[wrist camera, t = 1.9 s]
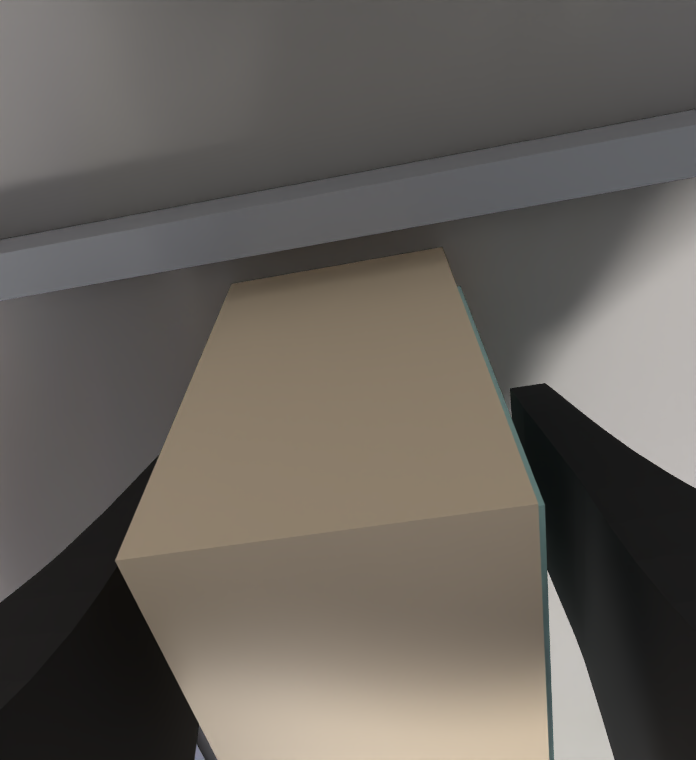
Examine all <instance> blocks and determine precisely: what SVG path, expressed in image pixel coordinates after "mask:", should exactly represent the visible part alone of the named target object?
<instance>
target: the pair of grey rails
mask: <svg viewBox="0 0 696 760" xmlns="http://www.w3.org/2000/svg"><path fill="white" fill-rule="evenodd" d="M693 177H696V109H695V110H689V111H684V112H679V113H674V114H668V115H663V116H658V117H652V118H647V119H642V120H636V121H631V122H626V123H620V124H615V125H610V126H604V127H599V128H594V129H588V130H583V131H578V132H572V133H567V134H562V135H556V136H551V137H546V138H540V139H535V140H530V141H524V142H519V143H514V144H509V145H503V146H498V147H493V148H487V149H482V150H477V151H471V152H466V153H461V154H455V155H450V156H445V157H439V158H434V159H429V160H423V161H418V162H413V163H407V164H402V165H397V166H391V167H386V168H381V169H375V170H370V171H365V172H359V173H354V174H349V175H343V176H338V177H333V178H328V179H322V180H317V181H312V182H306V183H301V184H296V185H290V186H285V187H280V188H274V189H269V190H264V191H258V192H253V193H248V194H242V195H237V196H232V197H226V198H221V199H216V200H210V201H205V202H200V203H194V204H189V205H184V206H178V207H173V208H168V209H162V210H157V211H152V212H147V213H141V214H136V215H131V216H125V217H120V218H115V219H109V220H104V221H99V222H93V223H88V224H83V225H77V226H72V227H67V228H61V229H56V230H51V231H45V232H40V233H35V234H29V235H24V236H19V237H13V238H8V239H3V240H0V301H3V300H9V299H14V298H20V297H26V296H31V295H37V294H42V293H48V292H54V291H59V290H65V289H71V288H76V287H82V286H87V285H93V284H99V283H104V282H110V281H115V280H121V279H127V278H132V277H138V276H143V275H149V274H155V273H160V272H166V271H171V270H177V269H183V268H188V267H194V266H199V265H205V264H211V263H216V262H222V261H227V260H233V259H239V258H244V257H250V256H256V255H261V254H267V253H272V252H278V251H284V250H289V249H295V248H300V247H306V246H312V245H317V244H323V243H328V242H334V241H340V240H345V239H351V238H356V237H362V236H368V235H373V234H379V233H384V232H390V231H396V230H401V229H407V228H413V227H418V226H424V225H429V224H435V223H441V222H446V221H452V220H457V219H463V218H469V217H474V216H480V215H485V214H491V213H497V212H502V211H508V210H513V209H519V208H525V207H530V206H536V205H541V204H547V203H553V202H558V201H564V200H570V199H575V198H581V197H586V196H592V195H598V194H603V193H609V192H614V191H620V190H626V189H631V188H637V187H642V186H648V185H654V184H659V183H665V182H670V181H676V180H682V179H687V178H693Z"/></svg>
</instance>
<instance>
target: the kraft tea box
mask: <svg viewBox="0 0 696 760" xmlns="http://www.w3.org/2000/svg"><path fill="white" fill-rule="evenodd" d="M115 562H116V564H117V565H118V567H119V569H120V571H121V573H122V575H123V577H124V579H125V581H126V583H127V585H128V587H129V589H130V591H131V593H132V595H133V597H134V599H135V600H136V602H137V604H138V606H139V608H140V610H141V612H142V614H143V616H144V618H145V620H146V622H147V624H148V626H149V628H150V630H151V632H152V634H153V635H154V637H155V639H156V641H157V643H158V645H159V647H160V649H161V651H162V653H163V655H164V657H165V659H166V661H167V663H168V665H169V667H170V669H171V670H172V672H173V674H174V676H175V678H176V680H177V682H178V684H179V686H180V688H181V690H182V692H183V694H184V696H185V698H186V700H187V702H188V704H189V705H190V707H191V709H192V711H193V713H194V715H195V717H196V719H197V721H198V723H199V725H200V727H201V729H202V731H203V733H204V735H205V737H206V739H207V740H208V742H209V744H210V746H211V748H212V750H213V752H214V754H215V756H216V758H217V760H554V748H553V720H552V692H551V664H550V636H549V608H548V579H547V551H546V523H545V504H544V501H543V499H542V496H541V494H540V491H539V488H538V486H537V483H536V481H535V478H534V476H533V473H532V470H531V468H530V465H529V463H528V460H527V457H526V455H525V452H524V450H523V447H522V445H521V442H520V439H519V437H518V434H517V432H516V429H515V426H514V424H513V421H512V419H511V416H510V413H509V411H508V408H507V406H506V403H505V401H504V398H503V395H502V393H501V390H500V388H499V385H498V382H497V380H496V377H495V375H494V372H493V370H492V367H491V364H490V362H489V359H488V357H487V354H486V351H485V349H484V346H483V344H482V341H481V338H480V336H479V333H478V331H477V328H476V326H475V323H474V320H473V318H472V315H471V313H470V310H469V307H468V305H467V302H466V300H465V297H464V295H463V292H462V289H461V287H460V286H458V287H457V285H456V283H455V280H454V277H453V275H452V272H451V269H450V267H449V264H448V261H447V259H446V256H445V253H444V251H443V248H442V247H440V248H434V249H428V250H423V251H417V252H411V253H405V254H400V255H394V256H388V257H383V258H377V259H371V260H365V261H360V262H354V263H348V264H342V265H337V266H331V267H325V268H320V269H314V270H308V271H302V272H297V273H291V274H285V275H280V276H274V277H268V278H262V279H257V280H251V281H245V282H239V283H234V284H231V286H230V289H229V291H228V294H227V296H226V298H225V301H224V303H223V305H222V308H221V310H220V313H219V315H218V317H217V320H216V322H215V324H214V327H213V329H212V332H211V334H210V336H209V339H208V341H207V343H206V346H205V348H204V351H203V353H202V355H201V358H200V360H199V362H198V365H197V367H196V370H195V372H194V374H193V377H192V379H191V381H190V384H189V386H188V389H187V391H186V393H185V396H184V398H183V400H182V403H181V405H180V408H179V410H178V412H177V415H176V417H175V419H174V422H173V424H172V427H171V429H170V431H169V434H168V436H167V438H166V441H165V443H164V446H163V448H162V450H161V453H160V455H159V457H158V460H157V462H156V465H155V467H154V469H153V472H152V474H151V476H150V479H149V481H148V484H147V486H146V488H145V491H144V493H143V495H142V498H141V500H140V503H139V505H138V507H137V510H136V512H135V514H134V517H133V519H132V522H131V524H130V526H129V529H128V531H127V533H126V536H125V538H124V541H123V543H122V545H121V548H120V550H119V552H118V555H117V557H116V560H115Z"/></svg>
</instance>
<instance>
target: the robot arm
mask: <svg viewBox="0 0 696 760" xmlns="http://www.w3.org/2000/svg"><path fill="white" fill-rule="evenodd" d="M510 396H511V411H512V421H513V424H514V426H515V429H516V432H517V434H518V437H519V439H520V442H521V445H522V447H523V450H524V452H525V455H526V457H527V460H528V463H529V465H530V468H531V470H532V473H533V476H534V478H535V481H536V483H537V486H538V488H539V491H540V494H541V496H542V499H543V501H544V504H545V523H546V551H547V570H548V573H549V575H550V577H551V580H552V582H553V584H554V587H555V589H556V592H557V594H558V596H559V599H560V601H561V603H562V606H563V608H564V610H565V613H566V615H567V618H568V620H569V622H570V625H571V627H572V629H573V632H574V634H575V637H576V639H577V642H578V645H579V647H580V650H581V653H582V655H583V658H584V661H585V664H586V667H587V670H588V674H589V677H590V680H591V683H592V686H593V690H594V693H595V696H596V699H597V703H598V706H599V709H600V712H601V715H602V719H603V722H604V725H605V729H606V732H607V736H608V739H609V742H610V746H611V749H612V752H613V756H614V759H615V760H696V488H694V487H692V486H690V485H688V484H687V483H685V482H683V481H681V480H680V479H678V478H676V477H674V476H673V475H671V474H669V473H668V472H666V471H665V470H663V469H661V468H660V467H658V466H657V465H655V464H653V463H652V462H650V461H649V460H647V459H646V458H644V457H642V456H641V455H639V454H638V453H636V452H635V451H633V450H632V449H630V448H629V447H627V446H626V445H625V444H623V443H622V442H621V441H619V440H618V439H616V438H615V437H614V436H612V435H611V434H609V433H608V432H607V431H605V430H604V429H603V428H601V427H600V426H599V425H597V424H596V423H595V422H593V421H592V420H591V419H590V418H588V417H587V416H586V415H585V414H583V413H582V412H581V411H579V410H578V409H577V408H576V407H574V406H573V405H572V404H571V403H569V402H568V401H567V400H566V399H565V398H563V397H562V396H561V395H560V394H558V393H557V392H556V391H555V390H553V389H552V388H551V387H549V386H548V385H547V384H545V383H543V384H536V385H530V386H523V387H517V388H510ZM158 457H159V456H158ZM158 457H157V458H156V459H155V460H154V461H153V462H152V463H151V464H150V465H149V466H148V467H147V468H146V469H145V470H144V471H143V472H142V473H141V474H140V475H139V477H138V478H137V479H136V480H135V481H134V482H133V483H132V484H131V485H130V486H129V487H128V488H127V489H126V490H125V491H124V492H123V493H122V494H121V495H120V496H119V497H118V498H117V499H116V500H115V501H114V502H113V503H112V505H111V506H110V507H109V508H108V509H107V510H106V511H105V512H104V513H103V514H102V515H101V516H99V517H98V518H97V519H96V520H95V521H94V522H93V523H92V524H91V525H90V526H89V527H88V528H87V529H86V530H85V531H84V532H83V533H82V534H81V535H79V536H78V537H77V538H76V539H75V540H74V541H73V542H72V543H71V544H70V545H69V546H68V547H67V548H66V549H65V550H64V551H63V552H61V553H60V554H59V555H58V556H57V557H56V558H55V559H54V560H52V561H51V562H50V563H49V564H48V565H47V566H45V567H44V568H43V569H42V570H41V571H40V572H38V573H37V574H36V575H35V576H33V577H32V578H31V579H30V580H28V581H27V582H26V583H25V584H23V585H22V586H21V587H20V588H19V589H17V590H16V591H15V592H14V593H12V594H11V595H10V596H8V597H7V598H6V599H5V600H3V601H2V602H1V603H0V760H205V759H204V757H203V755H202V753H201V751H200V749H199V748H198V746H197V736H198V728H199V723H198V721H197V719H196V717H195V715H194V713H193V711H192V709H191V707H190V705H189V704H188V702H187V700H186V698H185V696H184V694H183V692H182V690H181V688H180V686H179V684H178V682H177V680H176V678H175V676H174V674H173V672H172V670H171V669H170V667H169V665H168V663H167V661H166V659H165V657H164V655H163V653H162V651H161V649H160V647H159V645H158V643H157V641H156V639H155V637H154V635H153V634H152V632H151V630H150V628H149V626H148V624H147V622H146V620H145V618H144V616H143V614H142V612H141V610H140V608H139V606H138V604H137V602H136V600H135V599H134V597H133V595H132V593H131V591H130V589H129V587H128V585H127V583H126V581H125V579H124V577H123V575H122V573H121V571H120V569H119V567H118V565H117V564H116V562H115V560H116V557H117V555H118V552H119V550H120V548H121V545H122V543H123V541H124V538H125V536H126V533H127V531H128V529H129V526H130V524H131V522H132V519H133V517H134V514H135V512H136V510H137V507H138V505H139V503H140V500H141V498H142V495H143V493H144V491H145V488H146V486H147V484H148V481H149V479H150V476H151V474H152V472H153V469H154V467H155V465H156V462H157V460H158Z"/></svg>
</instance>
